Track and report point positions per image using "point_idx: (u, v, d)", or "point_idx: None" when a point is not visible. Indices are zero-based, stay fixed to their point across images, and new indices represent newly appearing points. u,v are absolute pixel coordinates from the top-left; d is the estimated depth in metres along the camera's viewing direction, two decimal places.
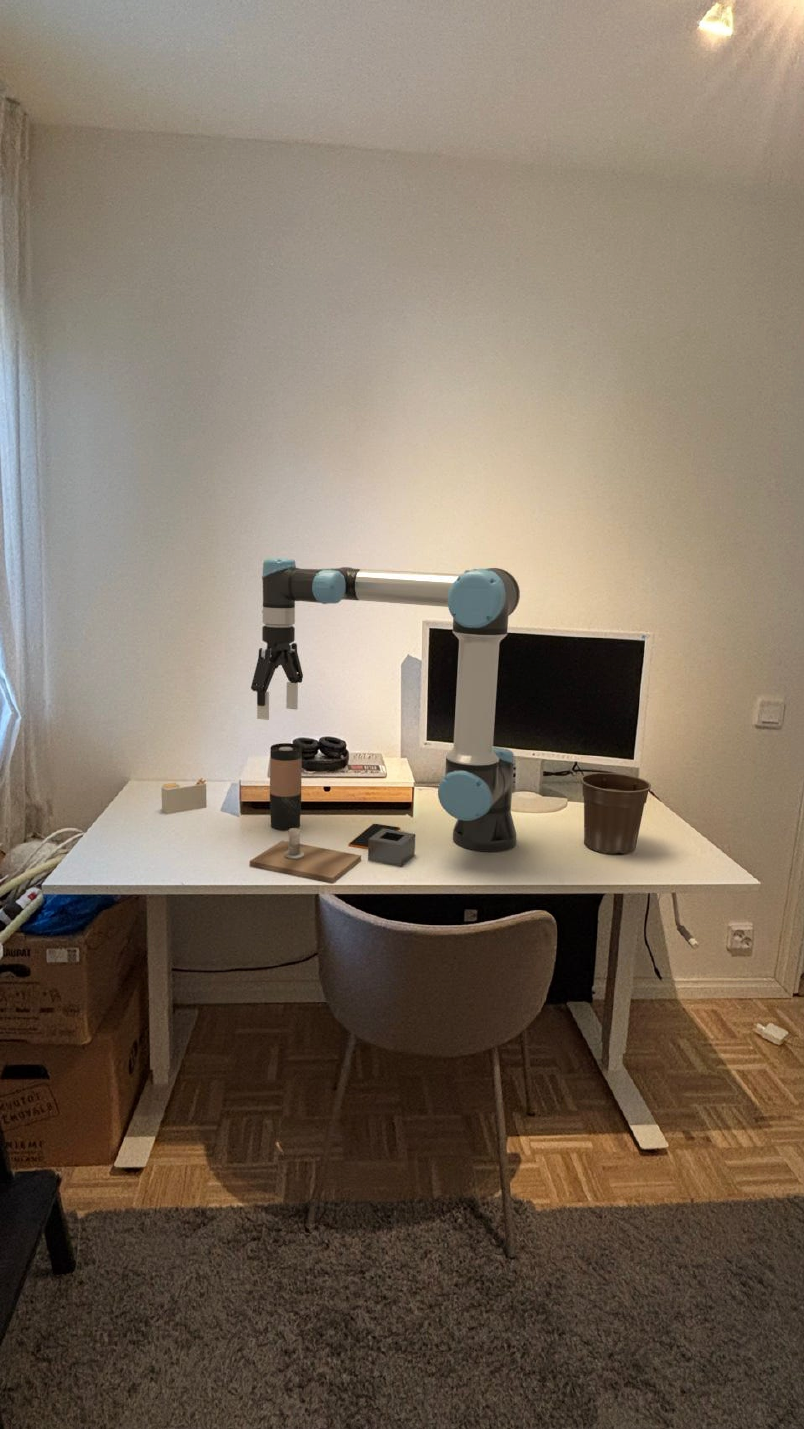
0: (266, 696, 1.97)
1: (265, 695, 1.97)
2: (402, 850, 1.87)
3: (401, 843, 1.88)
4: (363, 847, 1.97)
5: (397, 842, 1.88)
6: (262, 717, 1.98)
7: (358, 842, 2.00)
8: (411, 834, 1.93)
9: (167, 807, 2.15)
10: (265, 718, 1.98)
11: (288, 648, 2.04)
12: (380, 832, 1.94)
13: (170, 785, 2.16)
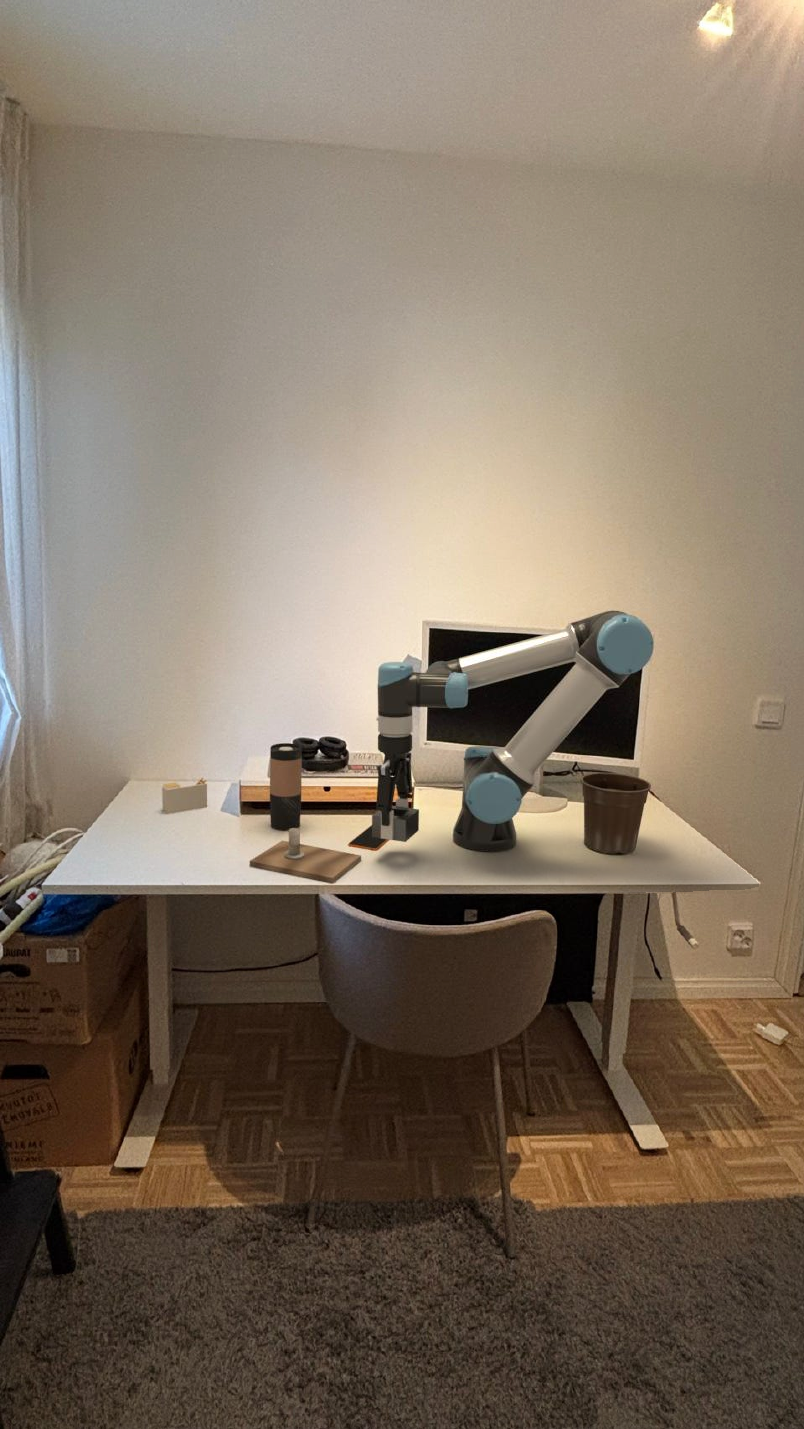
0: (391, 815, 1.86)
1: (390, 814, 1.86)
2: (406, 825, 1.86)
3: (405, 818, 1.87)
4: (363, 847, 1.97)
5: (401, 817, 1.87)
6: (386, 837, 1.87)
7: (358, 842, 2.00)
8: (415, 810, 1.92)
9: (168, 807, 2.16)
10: (390, 838, 1.87)
11: (404, 755, 1.90)
12: None
13: (171, 785, 2.16)
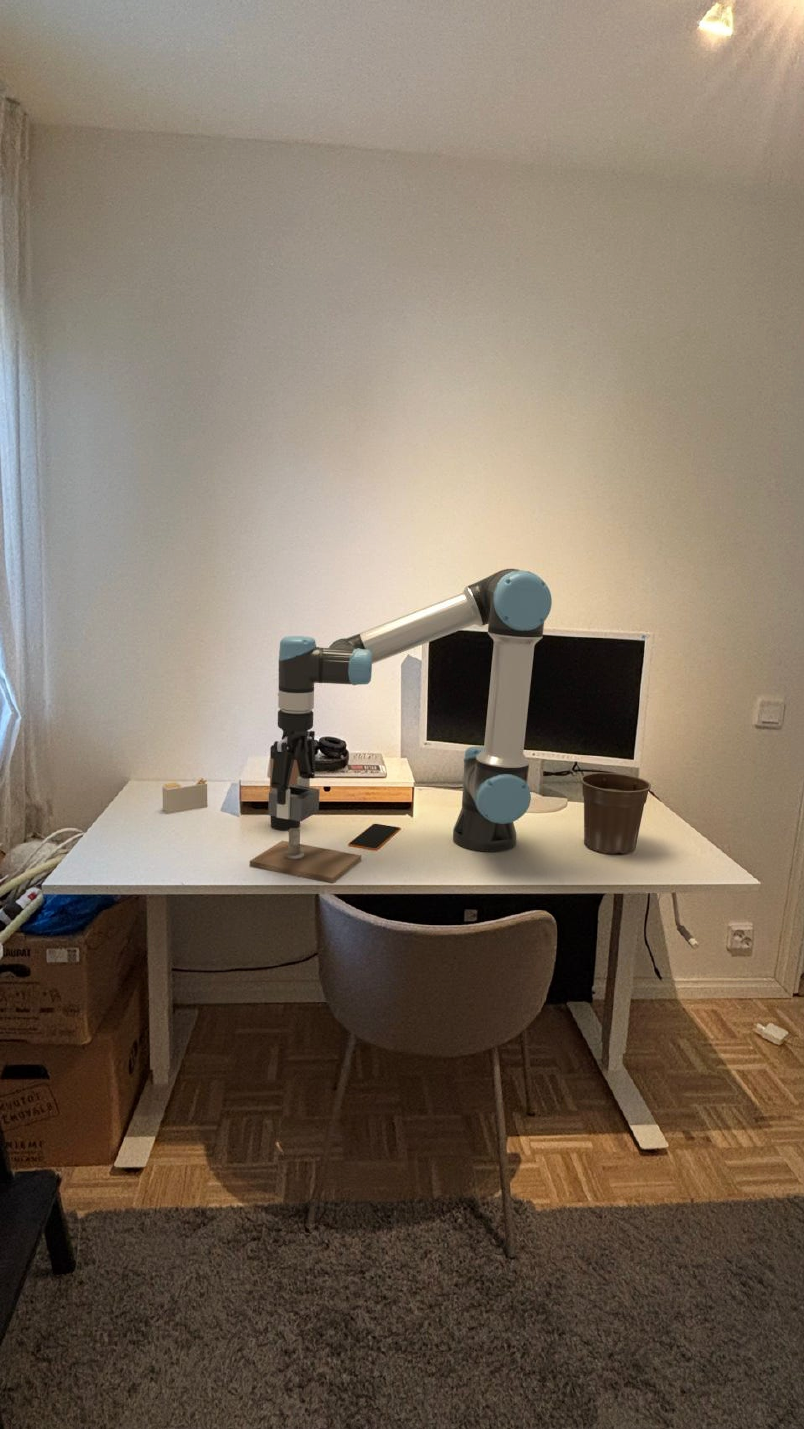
0: (287, 794, 1.80)
1: (286, 793, 1.80)
2: (302, 804, 1.81)
3: (302, 797, 1.81)
4: (363, 847, 1.97)
5: (298, 796, 1.82)
6: (282, 816, 1.82)
7: (358, 842, 2.00)
8: (315, 789, 1.87)
9: (168, 807, 2.16)
10: (286, 817, 1.81)
11: (306, 733, 1.85)
12: None
13: (171, 785, 2.17)
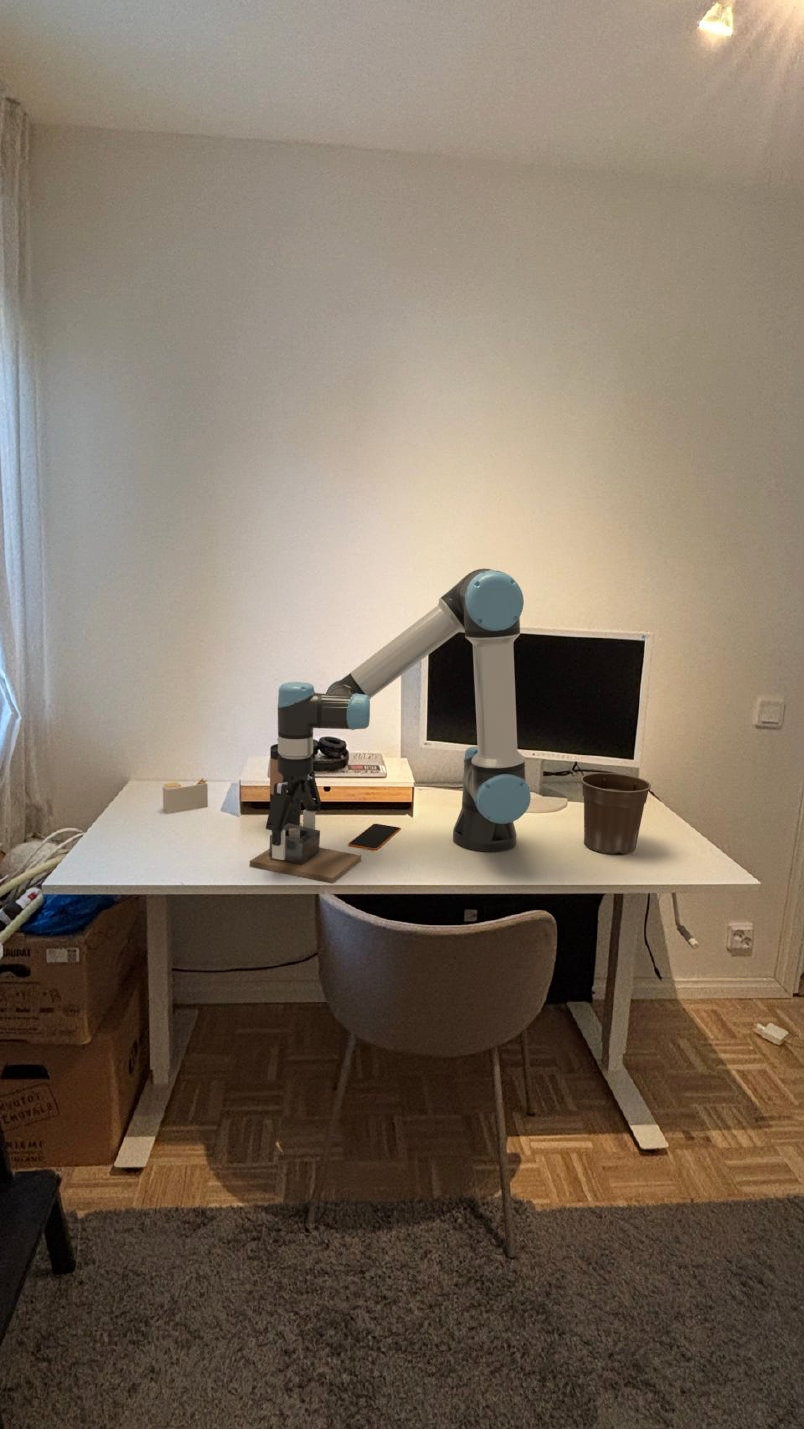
0: (282, 835, 1.80)
1: (281, 834, 1.80)
2: (303, 848, 1.83)
3: (302, 841, 1.83)
4: (362, 847, 1.97)
5: (298, 840, 1.83)
6: (277, 857, 1.81)
7: (357, 842, 2.00)
8: (315, 831, 1.89)
9: (168, 807, 2.16)
10: (281, 858, 1.81)
11: (305, 777, 1.87)
12: (284, 828, 1.89)
13: (171, 785, 2.17)
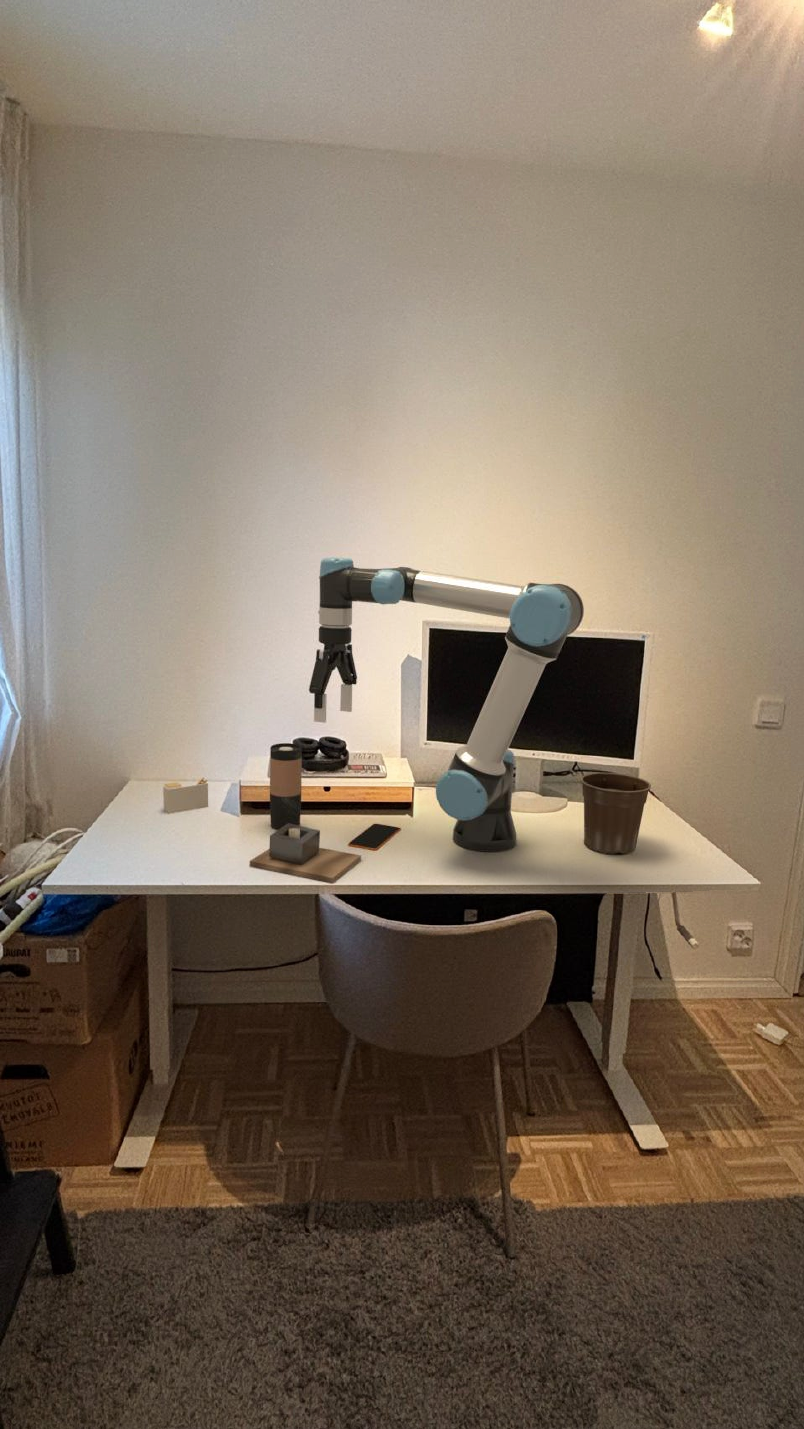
0: (324, 698, 1.93)
1: (323, 697, 1.93)
2: (303, 848, 1.83)
3: (302, 841, 1.83)
4: (362, 847, 1.97)
5: (298, 840, 1.83)
6: (319, 720, 1.94)
7: (357, 842, 2.00)
8: (315, 831, 1.89)
9: (169, 807, 2.16)
10: (323, 721, 1.94)
11: (344, 649, 2.00)
12: (284, 828, 1.89)
13: (172, 785, 2.17)
